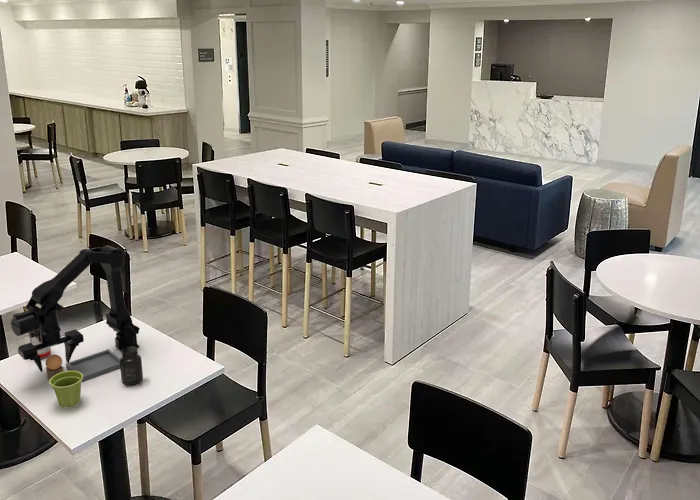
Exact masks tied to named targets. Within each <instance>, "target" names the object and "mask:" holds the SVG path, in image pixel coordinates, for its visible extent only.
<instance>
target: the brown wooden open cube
mask: <svg viewBox="0 0 700 500" xmlns="http://www.w3.org/2000/svg"><path fill="white" fill-rule="evenodd" d="M45 370H46V377H47V379H48V380H49V381H50V379H51V378H52V377H53V376H54V375H56V374H58V373H61V372H65V370H64V367H63V365H61V366H60V367H59V368H58V369H56V370H51V369H49V368H47V366H45Z"/></svg>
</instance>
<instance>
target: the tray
mask: <svg viewBox="0 0 700 500" xmlns="http://www.w3.org/2000/svg"><path fill="white" fill-rule="evenodd" d="M120 358H121V357H119V356H118V355H116V354H115V353H114V352H113V351H111V350H110V349H108V348H107V349H106V350H102V351H98V352H95V353H92V354H91V355H87V356H84V357H81V358H78V359H75V360H72V361H69V363H67V362H66V363H65V366H66V367H65V368H66V369H67V371H78V372H80V373H82V374H83V379H82V382H81V383H84V382H86V381H88V380H89V381H90V380H92V379H94V378H97V377H100V376H102V375H106V374H108V373H111V372H113V371H117V370H119V369H120Z"/></svg>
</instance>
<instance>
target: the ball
mask: <svg viewBox="0 0 700 500" xmlns="http://www.w3.org/2000/svg"><path fill="white" fill-rule="evenodd" d="M62 364H63V359H62V357H61V356H60V355H58V354H56V353H55V354H54V353H53V354H50V355H49V356H48V357H46V359H45V367H47V368H49V369H51V370H56V369H58V368H59V367H60V366H63V365H62Z"/></svg>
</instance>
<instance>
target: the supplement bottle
mask: <svg viewBox="0 0 700 500" xmlns="http://www.w3.org/2000/svg"><path fill="white" fill-rule="evenodd" d="M119 358H120V368H119V369H120V371H119V372H120V380H121V384H122V385H123V386H124V387H136V386H138V385H140V384H141V383H142V382H143V380H144V374H143V373H144V372H143V361H142V356H141V355H140V354H139V351H138V348H136V347H134V346H128V347H125V348H123V349H122V352H121V357H119Z"/></svg>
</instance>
